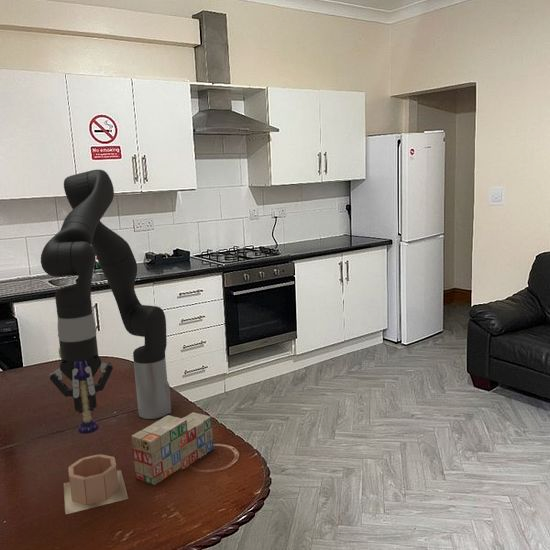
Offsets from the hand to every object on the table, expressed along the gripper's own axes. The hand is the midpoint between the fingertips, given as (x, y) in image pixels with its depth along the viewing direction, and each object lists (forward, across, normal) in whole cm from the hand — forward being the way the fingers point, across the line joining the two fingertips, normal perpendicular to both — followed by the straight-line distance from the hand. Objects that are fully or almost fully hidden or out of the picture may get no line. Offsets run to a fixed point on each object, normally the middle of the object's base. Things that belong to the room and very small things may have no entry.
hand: (86, 410), depth 121 cm
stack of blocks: (+21, -20, -5) cm, 29 cm away
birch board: (+21, 0, 0) cm, 21 cm away
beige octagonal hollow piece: (+19, 0, 0) cm, 19 cm away
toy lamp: (+5, 0, 0) cm, 5 cm away
